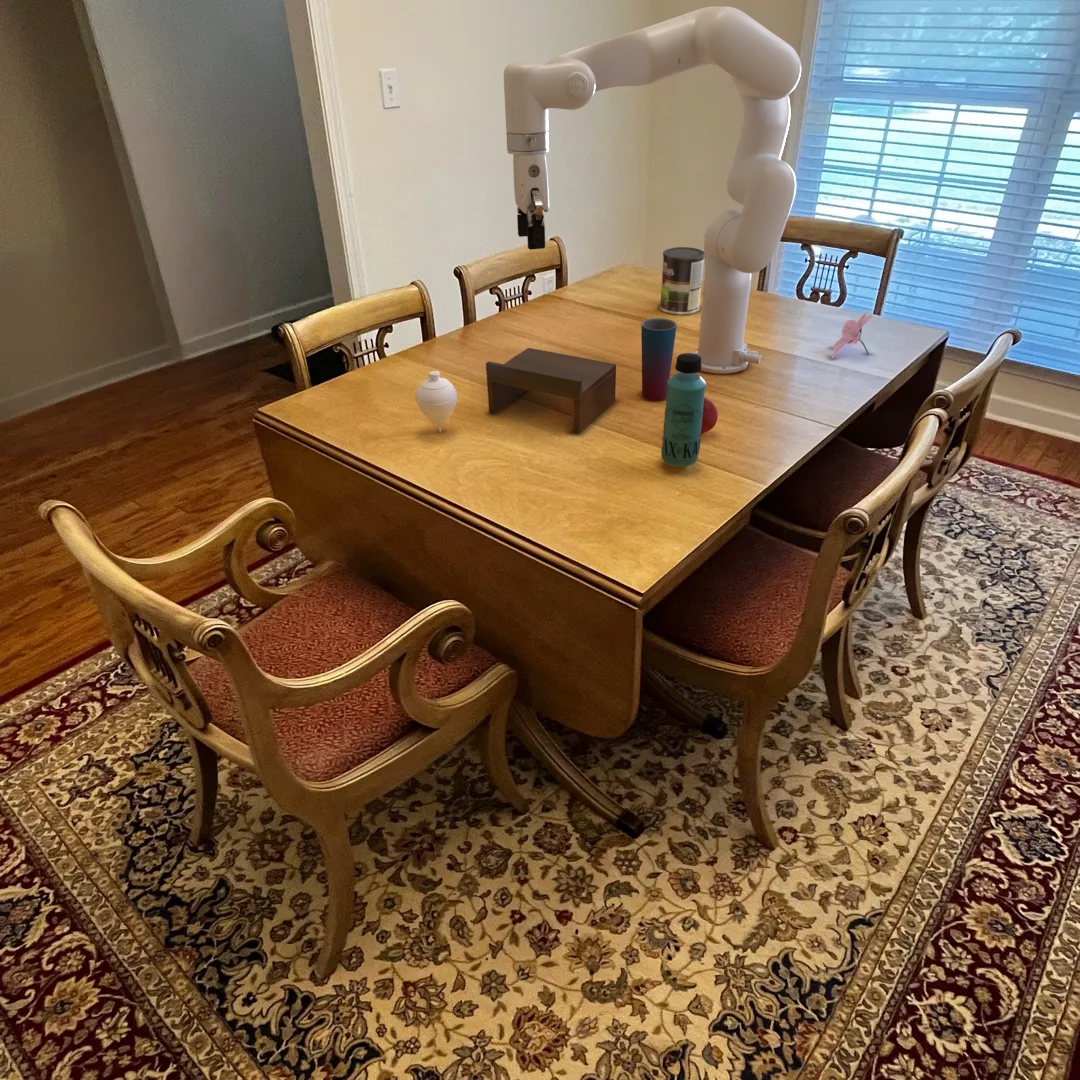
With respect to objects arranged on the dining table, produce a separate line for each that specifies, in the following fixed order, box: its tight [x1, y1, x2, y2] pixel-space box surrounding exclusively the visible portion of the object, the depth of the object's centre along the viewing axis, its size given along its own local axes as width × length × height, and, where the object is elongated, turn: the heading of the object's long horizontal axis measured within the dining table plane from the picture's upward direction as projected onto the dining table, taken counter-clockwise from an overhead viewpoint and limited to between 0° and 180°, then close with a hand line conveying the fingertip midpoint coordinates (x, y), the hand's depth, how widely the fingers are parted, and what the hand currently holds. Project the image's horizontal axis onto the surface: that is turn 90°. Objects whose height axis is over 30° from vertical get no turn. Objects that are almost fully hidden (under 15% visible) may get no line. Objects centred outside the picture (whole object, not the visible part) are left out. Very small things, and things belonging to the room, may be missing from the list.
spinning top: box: [415, 370, 458, 433], centre depth 148 cm, size 8×8×12 cm
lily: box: [831, 309, 874, 359], centre depth 176 cm, size 12×12×10 cm
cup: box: [640, 317, 678, 402], centre depth 158 cm, size 7×7×15 cm
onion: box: [700, 395, 719, 436], centre depth 145 cm, size 6×6×8 cm
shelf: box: [485, 347, 617, 435], centre depth 156 cm, size 16×20×10 cm
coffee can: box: [659, 246, 705, 316], centre depth 202 cm, size 10×10×14 cm
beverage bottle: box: [660, 352, 707, 468], centre depth 132 cm, size 6×7×20 cm
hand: (531, 242), depth 151 cm, fingers open, 9 cm apart
